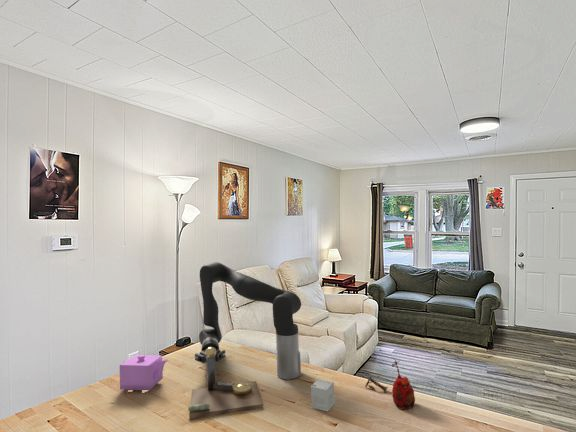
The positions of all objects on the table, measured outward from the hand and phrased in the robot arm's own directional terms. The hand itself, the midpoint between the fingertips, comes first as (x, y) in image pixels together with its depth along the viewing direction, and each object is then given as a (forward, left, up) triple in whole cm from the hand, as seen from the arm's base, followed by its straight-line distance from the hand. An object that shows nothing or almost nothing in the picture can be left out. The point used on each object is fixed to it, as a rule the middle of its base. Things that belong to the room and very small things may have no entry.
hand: (210, 363), depth 134 cm
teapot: (+25, -7, -9) cm, 27 cm away
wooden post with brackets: (-59, +20, -9) cm, 64 cm away
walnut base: (-5, +12, -9) cm, 16 cm away
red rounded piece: (-63, +32, -9) cm, 72 cm away
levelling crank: (-6, +8, -7) cm, 13 cm away
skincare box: (-37, +25, -9) cm, 46 cm away
